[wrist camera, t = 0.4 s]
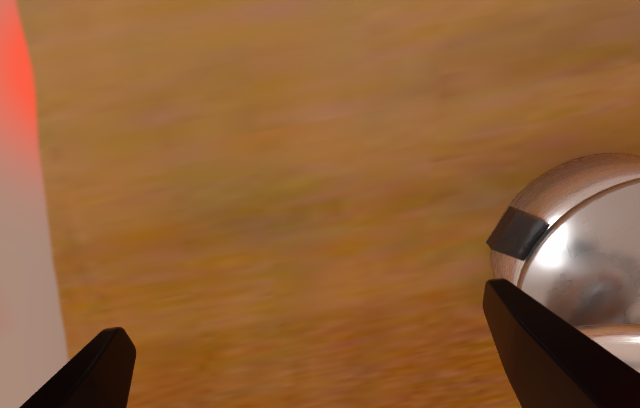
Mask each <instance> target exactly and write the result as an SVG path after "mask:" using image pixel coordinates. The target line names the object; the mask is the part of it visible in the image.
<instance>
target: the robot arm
mask: <svg viewBox="0 0 640 408" xmlns="http://www.w3.org/2000/svg"><path fill="white" fill-rule="evenodd" d="M483 310H484V314H485V316H486V319H487V322H488V325H489V328H490V331H491V333H492V336H493V339H494V342H495V345H496V348H497V350H498V353H499V356H500V359H501V362H502V364H503V367H504V370H505V372H506V375H507V377H508V379H509V381H510V383H511V386H512V388H513V390H514V392H515V394H516V396H517V398H518V400H519V402H520V404H521V406H522V408H640V373H639V372H638V371H636V370H635V369H633V368H632V367H630V366H629V365H628V364H626V363H625V362H623V361H622V360H620V359H619V358H618V357H616V356H615V355H613V354H612V353H611V352H609V351H608V350H606V349H605V348H603V347H602V346H601V345H599V344H598V343H596V342H595V341H594V340H592V339H591V338H589V337H588V336H586V335H585V334H584V333H582V332H581V331H579V330H578V329H576V328H575V327H574V326H572V325H571V324H569V323H568V322H567V321H565V320H564V319H562V318H561V317H559V316H558V315H557V314H555V313H554V312H552V311H551V310H550V309H548V308H547V307H545V306H544V305H542V304H541V303H540V302H538V301H537V300H535V299H534V298H533V297H531V296H530V295H528V294H527V293H525V292H524V291H523V290H521V289H520V288H518V287H517V286H515V285H514V284H513V283H511V282H510V281H508V280H507V279H504V278H498V279H490V280H488V281H487V282H486V284H485V291H484V298H483ZM135 359H136V349H135V346H134V344H133V343H132V341H131V339H130V338H129V336H128V335H127V333H126V331H125V330H124V329H123V328H121V327H114V328H107V329H104V330H102V331H101V332H100V333H99V334H98V335H97V336H96V337H95V338H93V339H92V340H91V341H90V342H89V343H88V344H87V345H86V346H85V347H84V348H83V349H82V350H81V351H80V352H78V353H77V354H76V355H75V356H74V357H73V358H72V359H71V360H70V361H69V362H68V363H67V364H66V365H65V366H63V368H61V369H60V370H59V371H58V372H57V373H56V374H55V375H54V376H53V377H52V378H51V379H50V380H49V381H47V382H46V383H45V384H44V385H43V386H42V387H41V388H40V389H39V390H38V391H37V392H36V393H35V394H34V395H32V396H31V397H30V398H29V399H28V400H27V401H26V402H25V403H24V404H23V405H22V406H21V407H20V408H126V407H127V401H128V396H129V391H130V385H131V380H132V375H133V369H134V364H135Z"/></svg>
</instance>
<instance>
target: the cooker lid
mask: <svg viewBox="0 0 640 408" xmlns="http://www.w3.org/2000/svg"><path fill="white" fill-rule="evenodd" d="M574 327H575V328H576V329H578V330H579V331H581V332H582V333H584V334H585V335H586V336H588V337H589V338H591V339H592V340H594V341H595V342H596V343H598V344H599V345H601V346H602V347H603V348H605V349H606V350H608V351H609V352H611V353H612V354H613V355H615V356H616V357H618V358H619V359H620V360H622V361H623V362H625V363H626V364H628V365H629V366H630V367H632V368H633V369H635V370H636V371H638V372H639V373H640V324H598V325H582V326H574Z"/></svg>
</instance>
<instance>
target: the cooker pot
mask: <svg viewBox="0 0 640 408" xmlns="http://www.w3.org/2000/svg"><path fill="white" fill-rule="evenodd" d="M486 243H487V244H488V245H489V247H490V248H491V253H490V256H491V266H492V271H493V274H494V277H495V279H498V278H504V279H507V280H508V281H510V282H511V283H513V284H514V285H515V286H517V287H518V288H520V289H521V290H523V291H524V292H525V293H527V294H528V295H530V296H531V297H533V298H534V299H535V300H537V301H538V302H540V303H541V304H542V305H544V306H545V307H547V308H548V309H550V310H551V311H552V312H554V313H555V314H557V315H558V316H559V317H561V318H562V319H564V320H565V321H567V322H568V323H569V324H571V325H572V326H582V325H598V324H640V157H638V156H634V155H629V154H621V153H605V154H595V155H590V156H585V157H581V158H578V159H575V160H571V161H569V162H566V163H564V164H562V165H559V166H557V167H555V168H553V169H551V170H550V171H548V172H546V173H544V174H543V175H541V176H540V177H538V178H537V179H536V180H534V181H533V182H531V183H530V184H529V185H528V186H527V187H526V188H525V189H523V190H522V191H521V192H520V193H519V194H518V196H517V197H516V198H515V199H514V200H513V201H512V202H511V204H510V205H509V206H508V208H507V209H506V210H505V212H504V214H503V215H502V217H501V219H500V221H499V223H498V225H497V226H496V228H495V229H494V231H493V232H492V234H491V236H490V237H489V239H488V240H487V242H486Z"/></svg>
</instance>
